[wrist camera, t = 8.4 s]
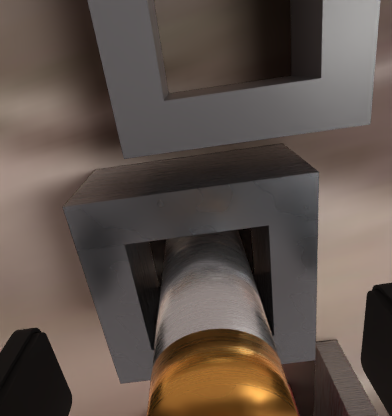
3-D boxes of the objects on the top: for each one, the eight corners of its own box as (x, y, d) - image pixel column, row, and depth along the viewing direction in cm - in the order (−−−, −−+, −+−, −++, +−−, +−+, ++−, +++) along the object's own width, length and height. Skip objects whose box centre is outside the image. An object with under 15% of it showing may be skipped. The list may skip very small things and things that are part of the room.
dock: (347, 134, 13) (459, 181, 8) (329, 474, 23) (373, 600, 18) (95, 169, 14) (35, 238, 8) (182, 490, 24) (180, 619, 18)
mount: (340, -156, 10) (399, -242, 7) (331, 112, 13) (370, 124, 10) (83, -115, 10) (45, -181, 7) (136, 139, 13) (123, 158, 11)
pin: (235, 200, 15) (301, 375, 6) (241, 263, 16) (301, 476, 8) (160, 210, 15) (129, 396, 6) (172, 272, 16) (160, 492, 8)
